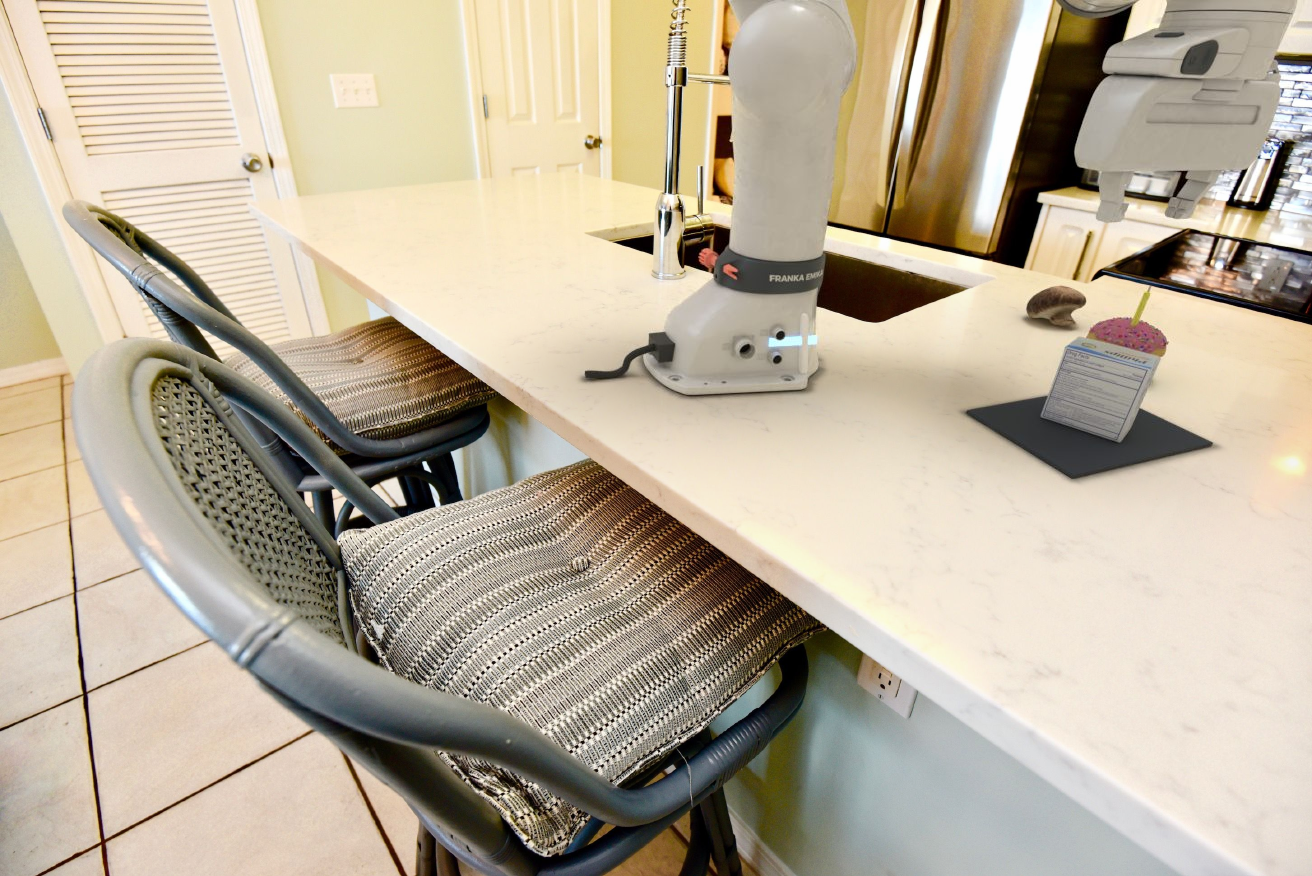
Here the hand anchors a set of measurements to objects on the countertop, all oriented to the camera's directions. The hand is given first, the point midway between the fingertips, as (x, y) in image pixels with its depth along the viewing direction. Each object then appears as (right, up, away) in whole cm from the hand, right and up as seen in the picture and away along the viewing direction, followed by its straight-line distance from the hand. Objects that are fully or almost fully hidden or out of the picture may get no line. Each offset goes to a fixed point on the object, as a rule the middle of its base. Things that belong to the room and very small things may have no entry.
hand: (1142, 219), depth 64 cm
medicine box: (0, -20, +8) cm, 21 cm away
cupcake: (+12, -13, +22) cm, 28 cm away
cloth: (0, -20, +8) cm, 22 cm away
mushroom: (+13, -4, +38) cm, 40 cm away
